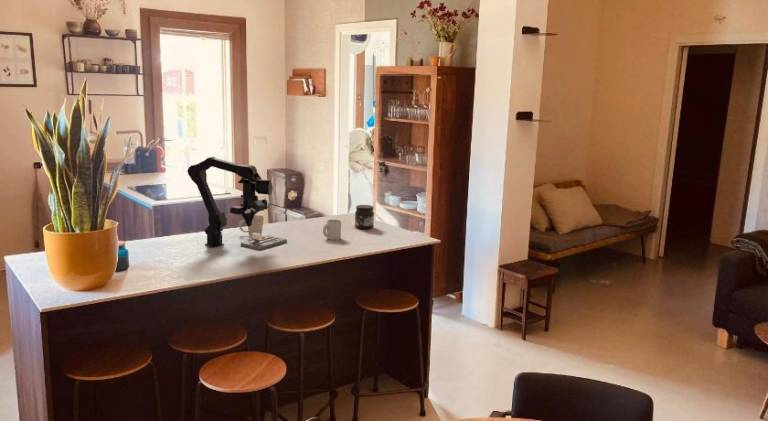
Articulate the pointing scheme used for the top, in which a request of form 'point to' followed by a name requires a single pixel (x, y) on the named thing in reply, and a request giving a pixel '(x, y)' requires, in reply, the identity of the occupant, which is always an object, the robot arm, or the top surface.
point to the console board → (264, 242)
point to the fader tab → (256, 237)
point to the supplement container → (364, 217)
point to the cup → (332, 229)
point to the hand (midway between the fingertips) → (249, 226)
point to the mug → (254, 225)
